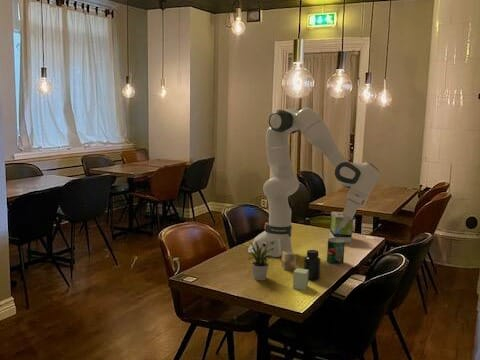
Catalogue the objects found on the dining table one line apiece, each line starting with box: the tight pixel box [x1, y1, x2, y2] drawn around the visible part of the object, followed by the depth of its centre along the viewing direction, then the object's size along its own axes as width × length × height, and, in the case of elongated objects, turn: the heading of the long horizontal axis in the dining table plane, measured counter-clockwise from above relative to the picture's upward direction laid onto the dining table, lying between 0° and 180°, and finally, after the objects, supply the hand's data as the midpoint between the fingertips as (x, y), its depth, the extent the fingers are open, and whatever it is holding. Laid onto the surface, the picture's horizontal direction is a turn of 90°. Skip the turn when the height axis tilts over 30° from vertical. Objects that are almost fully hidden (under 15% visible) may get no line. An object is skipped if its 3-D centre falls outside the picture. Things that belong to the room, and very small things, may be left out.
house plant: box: [247, 241, 275, 281], centre depth 203 cm, size 14×14×16 cm
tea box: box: [329, 211, 354, 244], centre depth 268 cm, size 15×10×15 cm, turn 178°
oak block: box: [281, 250, 297, 271], centre depth 218 cm, size 5×5×7 cm
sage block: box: [292, 267, 309, 291], centre depth 194 cm, size 5×5×7 cm
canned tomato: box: [326, 237, 346, 266], centre depth 227 cm, size 8×8×11 cm
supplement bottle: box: [303, 249, 321, 282], centre depth 205 cm, size 7×7×12 cm
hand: (342, 226), depth 209 cm, fingers closed
